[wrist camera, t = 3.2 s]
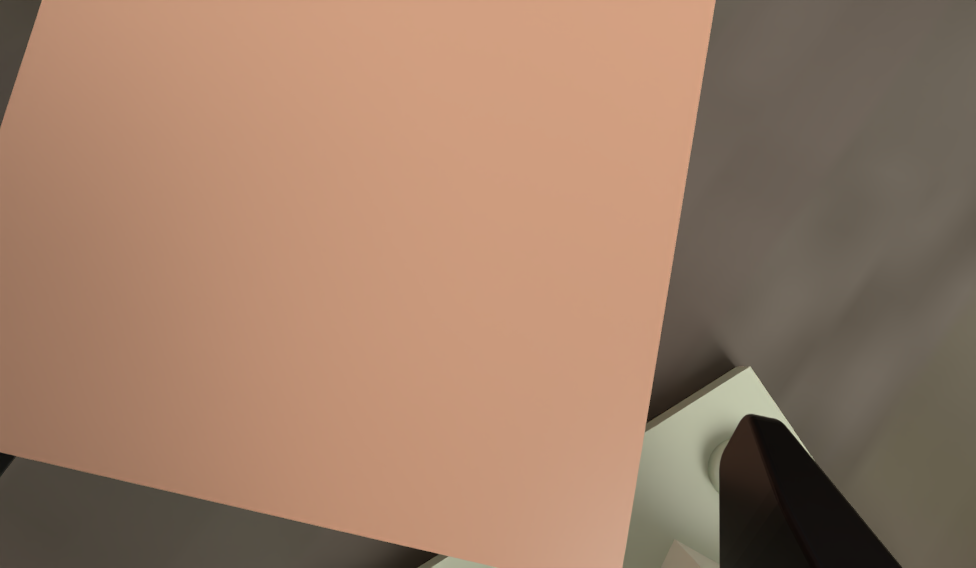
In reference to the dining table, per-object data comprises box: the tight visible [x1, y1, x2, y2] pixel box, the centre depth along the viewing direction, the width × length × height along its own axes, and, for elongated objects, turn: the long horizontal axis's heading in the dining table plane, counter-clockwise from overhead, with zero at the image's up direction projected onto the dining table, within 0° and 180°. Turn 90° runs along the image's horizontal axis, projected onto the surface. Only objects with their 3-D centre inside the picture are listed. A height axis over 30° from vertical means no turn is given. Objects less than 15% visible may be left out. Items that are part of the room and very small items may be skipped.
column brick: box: [0, 0, 715, 568], centre depth 11 cm, size 5×5×13 cm
